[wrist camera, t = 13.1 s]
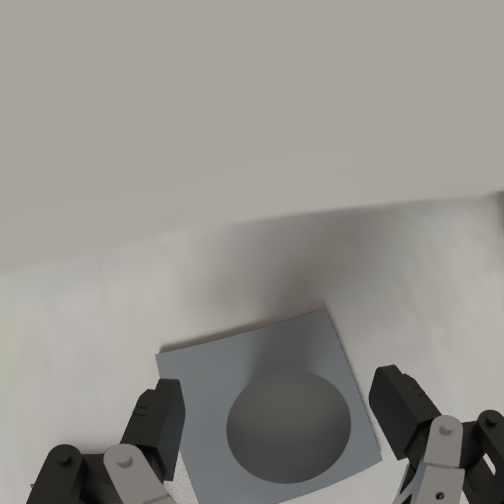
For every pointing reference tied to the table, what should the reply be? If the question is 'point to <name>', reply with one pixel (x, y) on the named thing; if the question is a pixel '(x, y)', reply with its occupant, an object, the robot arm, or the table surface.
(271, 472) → the grey-capped cylinder canister
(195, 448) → the slate pad
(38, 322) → the table surface
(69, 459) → the robot arm
